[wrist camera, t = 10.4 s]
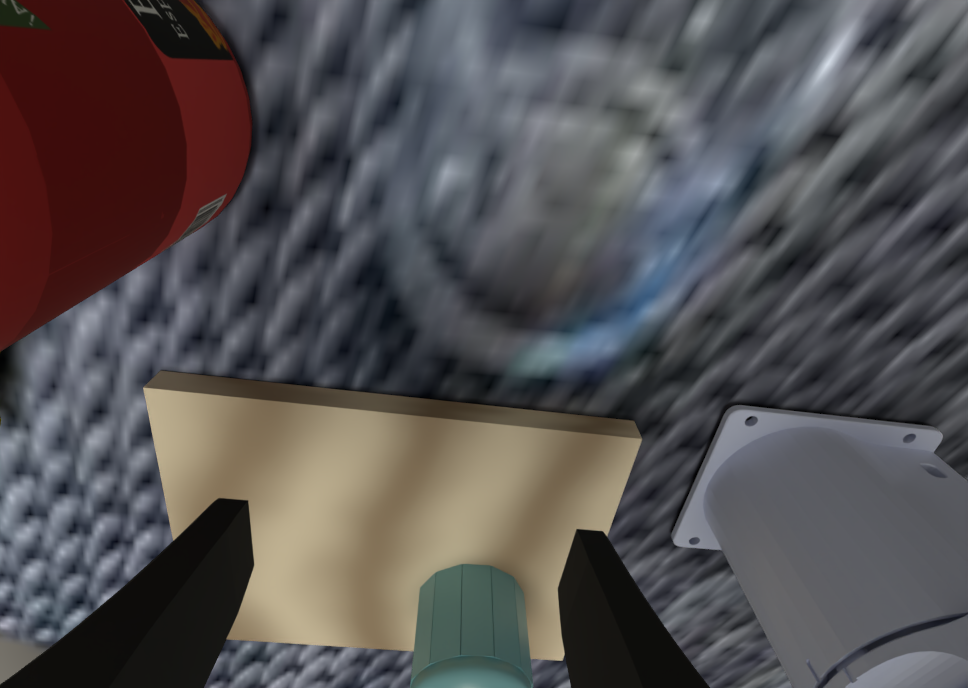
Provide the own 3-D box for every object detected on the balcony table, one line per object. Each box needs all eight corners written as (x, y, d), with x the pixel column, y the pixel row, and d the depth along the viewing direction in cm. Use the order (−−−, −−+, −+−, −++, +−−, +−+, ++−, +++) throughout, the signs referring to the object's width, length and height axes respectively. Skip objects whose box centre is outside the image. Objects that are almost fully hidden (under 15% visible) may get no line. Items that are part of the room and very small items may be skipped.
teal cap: (530, 568, 24) (542, 679, 20) (514, 633, 26) (523, 747, 22) (422, 561, 24) (411, 674, 19) (416, 628, 26) (405, 743, 22)
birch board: (633, 420, 22) (642, 438, 21) (558, 638, 29) (562, 660, 28) (160, 370, 20) (143, 387, 19) (203, 614, 27) (192, 637, 26)
